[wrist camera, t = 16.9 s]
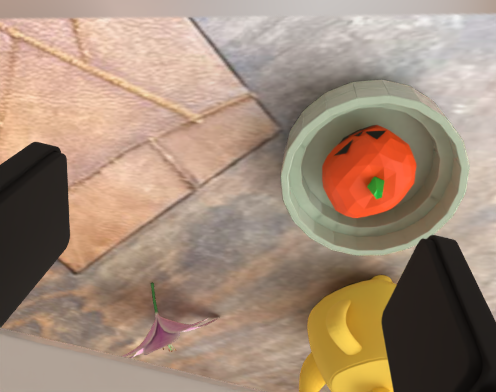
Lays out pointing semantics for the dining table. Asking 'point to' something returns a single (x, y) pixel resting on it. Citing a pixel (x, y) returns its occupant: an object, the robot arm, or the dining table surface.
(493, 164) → the dining table surface
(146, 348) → the lily
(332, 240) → the bowl
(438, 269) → the robot arm
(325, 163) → the pumpkin
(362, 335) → the yellow rounded piece
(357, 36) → the dining table surface
